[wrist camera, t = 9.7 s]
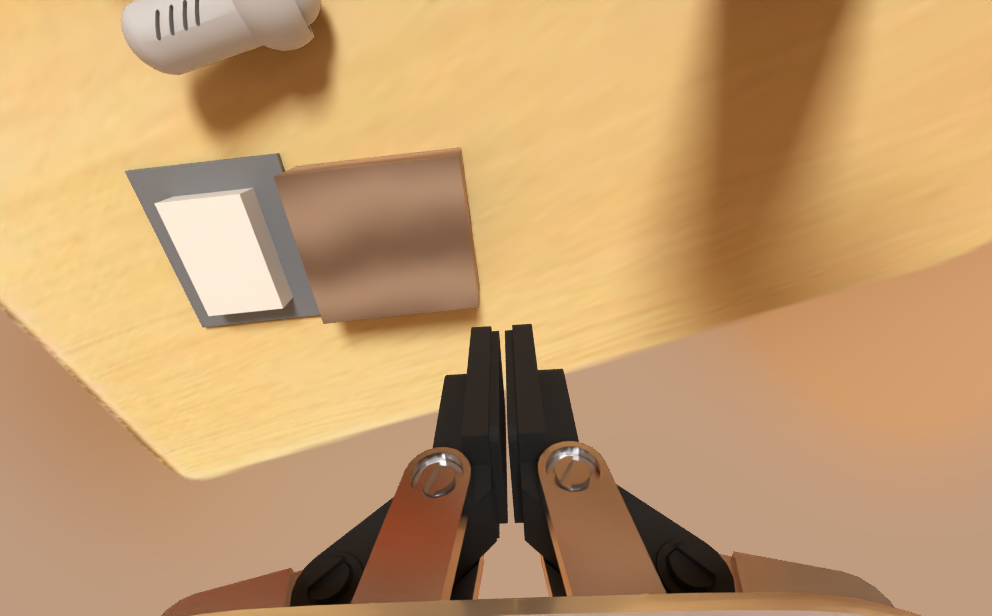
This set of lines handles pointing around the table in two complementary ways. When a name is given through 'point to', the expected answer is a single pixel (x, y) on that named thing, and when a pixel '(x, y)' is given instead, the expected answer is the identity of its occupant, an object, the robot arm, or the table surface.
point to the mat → (225, 177)
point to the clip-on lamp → (213, 29)
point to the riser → (384, 234)
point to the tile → (227, 251)
